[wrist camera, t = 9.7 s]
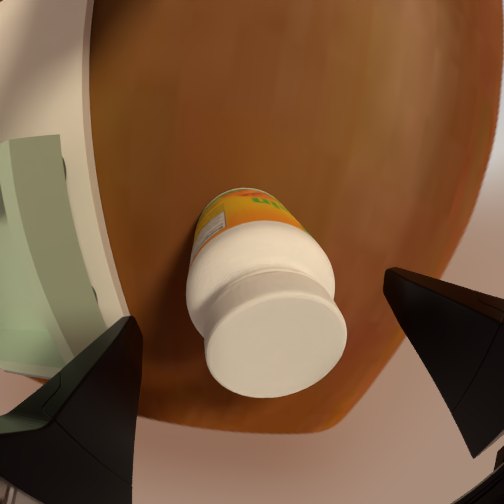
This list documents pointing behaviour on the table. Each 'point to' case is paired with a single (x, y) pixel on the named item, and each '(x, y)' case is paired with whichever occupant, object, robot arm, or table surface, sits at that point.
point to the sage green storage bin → (41, 263)
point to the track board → (59, 119)
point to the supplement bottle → (262, 297)
